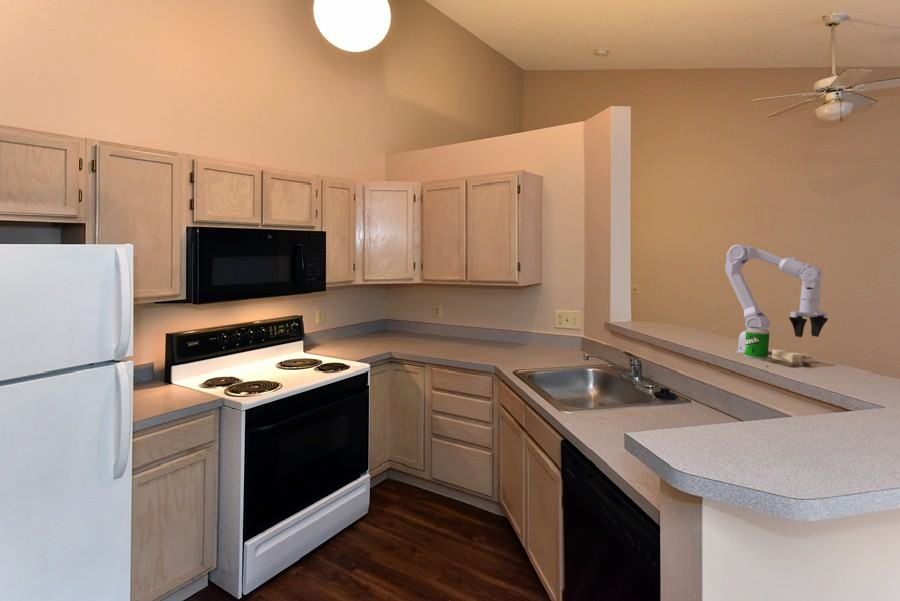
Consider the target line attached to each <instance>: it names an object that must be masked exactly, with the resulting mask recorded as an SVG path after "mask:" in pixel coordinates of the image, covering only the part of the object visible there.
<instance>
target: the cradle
mask: <svg viewBox="0 0 900 601" xmlns="http://www.w3.org/2000/svg"><path fill="white" fill-rule="evenodd" d="M761 361H763V362H765V363H766V362H767V363H769V364H774V365H778V366H782V367H786V368H812V367H813V368H815V367H835V366H837V365H835V364H832V363H827V362H822V361H818V360H813V359H808V358H803V357H802V359H799V361H798V365H796V366H795V363H791V362H786V361H782V360H778V359H774V358H772V357H769V356H768V357H764V359H761Z"/></svg>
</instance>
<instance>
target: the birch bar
mask: <svg viewBox="0 0 900 601" xmlns="http://www.w3.org/2000/svg"><path fill="white" fill-rule="evenodd" d="M802 355H803V353H801V352H800V353H798V352H796V351H795V352H794V351H790V350H784V349H772V351H771V358H774V359H778V360H782V361H786V362H791V363H795V366H796V365H798V361H799V359H802V358H803V356H802Z"/></svg>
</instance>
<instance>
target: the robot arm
mask: <svg viewBox="0 0 900 601" xmlns="http://www.w3.org/2000/svg"><path fill="white" fill-rule="evenodd" d="M725 257H726V261H725V267H724V271H725V273H726V276H727V278H728V280H729V282H730V285H731V287H732V288H733V290H734V292H735V295H736V297H737V300H738V301H739V304H740V305H741V308H742V309H743V317H744V320H745V322H744V324H745V328H746V329H748V328H749V327H762V328H767V329H768V328H769V327H770V326H771V325H770V324H771V321H770V319H769V317H768V316H767V315H766V314H764V311H763V310H762V309H761V308H760V307H759V306H758V303H757V302H756V298H755V297H754V295H753V293H752V290H751V289H750V287H749V285H748V282H747V281H746V278H745V276H744V275H743V273H742V269H743V267H744V265H745V264H746V263H747V262H748V261H749V260H755V259H756V260H757V259H758V260H761V261H763V262H766V263H768V264H771V265H774V266H776V267H779V270H780V271H781V272H782V273H784V274H787V275H789V276H793V277H794V278H797V279H801V280H802V283H801V290H800V300H799V302H800V303H799V310H797V311H796V310H795V311H790V315H789V317H788V319H789V321H790V323H791V325H792V327H793V331H794V332H793V333H794V335H795V337H796V338H802V337H803V335H804V328H805V326H806V323H807V321H808V319H807V318H809V320H810V324H811V325H810V326H811V330H810V331H811V337H816V338H817V337H818V338H819V336H820V335H821V334H820V333H821V331H822V328H824V325H825V324H826V323H827V322H828V321H829V320H828V319H829V318H828V312H827V311H823V310H821V311H820V304H821V303H820V301H821V300H820V299H821V285H822V281H821V280H822V279H823V278H824V271H823V270H822V269H821V268H820V267H818V266H812V264H811V263H809V262H807V263H806V262H805V263H804V262H802V261H800V260H798V258H797V257H794V256H793V257H785V258H783V257H780V256H778V255H775V254H772V253H770V252H768V251H765V250H763V249H761V248H757V247H754V246H749V245H747V244H746V245H745V244H742V245H741V244H734V245H731V246H730V247H729V249H728V250H727V252H726V254H725ZM745 338H746V330H743V331H741V332H740V334H739V336H738V345H737V347H738V348H737V350H736V351H735V352H736V353H744V352H745Z"/></svg>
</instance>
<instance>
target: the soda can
mask: <svg viewBox="0 0 900 601" xmlns="http://www.w3.org/2000/svg"><path fill="white" fill-rule="evenodd" d="M745 331H746V338H745V352H743V353H744V357H745V358H749V359H755V360H764V357H769V344H770V333H771V332H770V331H769V330H768V328H762V327H749V328H748V329H747V328H746V329H745Z"/></svg>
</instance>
